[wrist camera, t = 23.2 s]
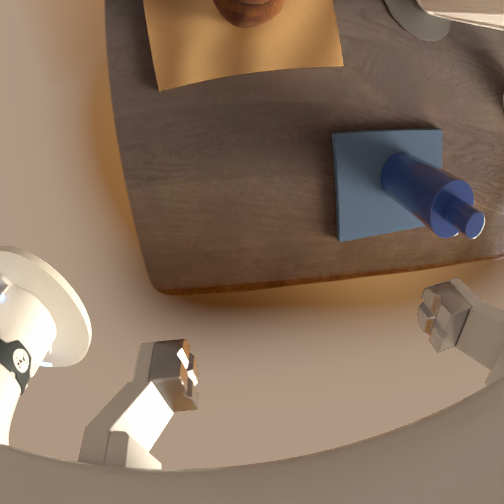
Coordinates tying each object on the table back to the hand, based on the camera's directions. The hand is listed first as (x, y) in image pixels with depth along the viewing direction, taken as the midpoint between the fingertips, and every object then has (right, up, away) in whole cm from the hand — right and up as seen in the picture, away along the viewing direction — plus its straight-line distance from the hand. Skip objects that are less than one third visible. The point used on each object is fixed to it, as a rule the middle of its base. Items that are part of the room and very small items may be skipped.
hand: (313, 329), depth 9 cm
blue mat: (+16, +12, +27) cm, 33 cm away
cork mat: (-3, +28, +15) cm, 32 cm away
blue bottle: (+17, +12, +25) cm, 33 cm away
